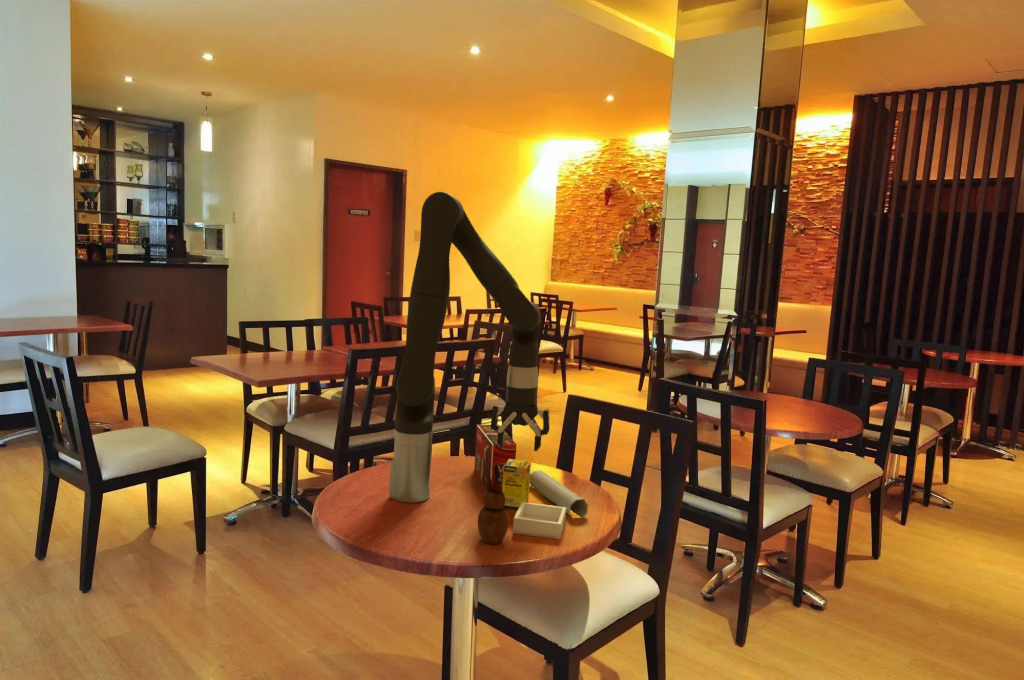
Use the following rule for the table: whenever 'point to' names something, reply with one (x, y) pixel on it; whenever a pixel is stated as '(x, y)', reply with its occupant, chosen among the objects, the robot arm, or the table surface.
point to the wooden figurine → (493, 514)
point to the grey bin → (539, 520)
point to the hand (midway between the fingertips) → (518, 448)
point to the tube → (558, 493)
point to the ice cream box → (492, 454)
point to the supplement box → (516, 483)
